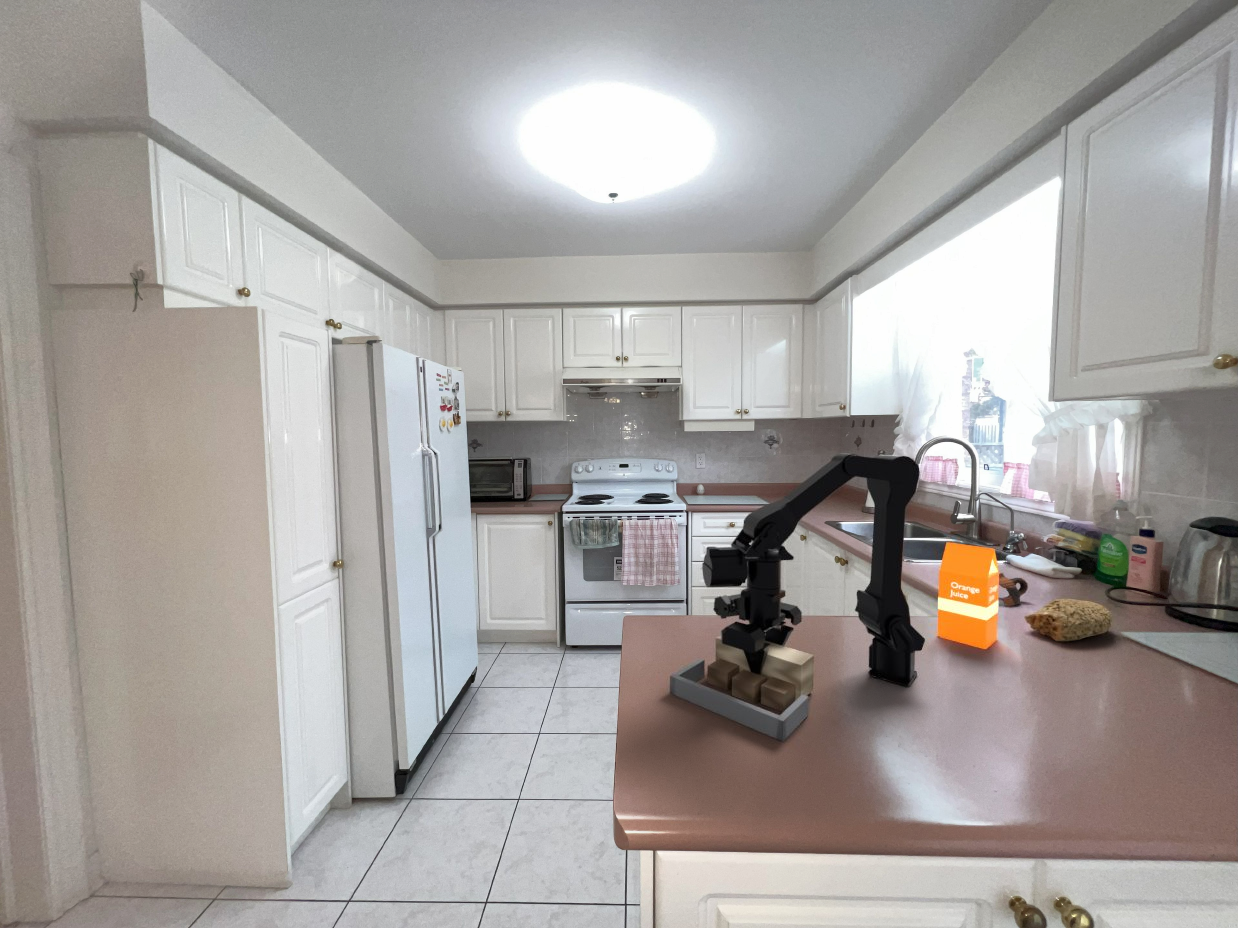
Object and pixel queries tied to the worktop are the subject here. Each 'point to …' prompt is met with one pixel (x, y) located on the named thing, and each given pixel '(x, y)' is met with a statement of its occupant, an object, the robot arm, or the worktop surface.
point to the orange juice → (968, 595)
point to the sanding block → (776, 664)
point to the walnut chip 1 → (722, 673)
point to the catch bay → (736, 704)
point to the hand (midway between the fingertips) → (762, 671)
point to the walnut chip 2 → (778, 693)
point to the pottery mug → (1012, 589)
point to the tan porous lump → (1070, 619)
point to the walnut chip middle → (747, 686)
